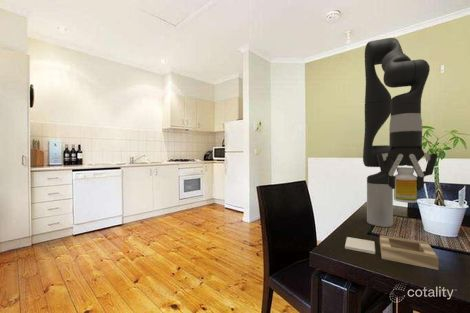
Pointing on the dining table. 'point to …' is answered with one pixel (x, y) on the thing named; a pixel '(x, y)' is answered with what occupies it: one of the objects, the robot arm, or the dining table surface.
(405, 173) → the supplement bottle
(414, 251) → the oak holder
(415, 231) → the dining table surface
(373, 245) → the cream tile
